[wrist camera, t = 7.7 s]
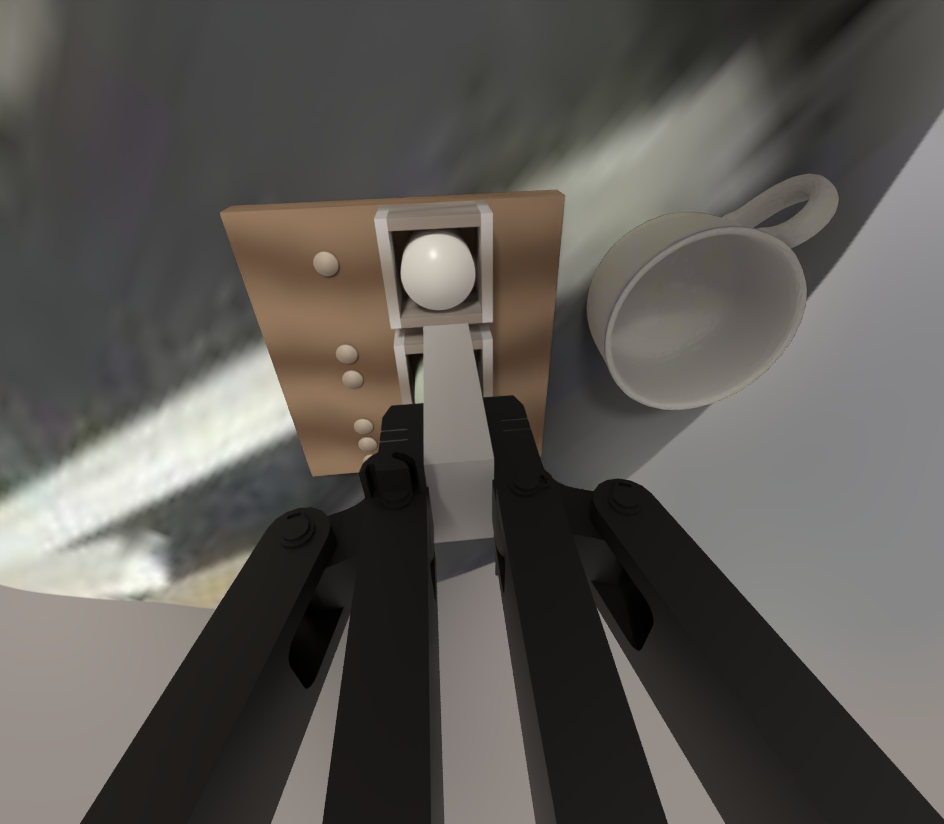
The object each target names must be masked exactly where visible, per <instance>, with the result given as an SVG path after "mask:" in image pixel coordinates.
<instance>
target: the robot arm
mask: <svg viewBox="0 0 944 824" xmlns="http://www.w3.org/2000/svg"><path fill="white" fill-rule="evenodd" d="M423 369H424V403H417V404H404V405H391V406H390V408H389V409H388V410H387V412H386V413H385V414H384V416H383V417H382V424H381V433H380V443H379V449H378V453H376V454H374V455H372V456H370V457H369V458H368V459H367V460H366V461H365V462H364V463H363V464H362V466H361V468H360V471H359V476H360V480H361V483H362V487H363V491H364V494H365V498H364V499H363V500H362V501H361V502H360V503H358V504H357V505H355V506H353V507H351V508H349V509H346V510H344V511H341V512H338V513H335V514H332V515H330V516H327V515H326V514H325V513H324V512H323V511H322V510H319V509H315V508H312V507H309V508H298V509H295V510H292V511H289V512H286V513H285V514H283V515H282V516H280V517H279V518H277V519H276V520H275V521H274V522H273V523H272V524H271V525H270V526H269V527H268V529H267V530H266V531H265V533H264V535H263V536H262V538H261V539H260V541H259V542H258V544H257V546H256V547H255V549H254V550H253V552H252V553H251V555H250V557H249V558H248V560H247V561H246V563H245V564H244V566H243V568H242V569H241V571H240V572H239V574H238V576H237V577H236V579H235V580H234V582H233V583H232V585H231V587H230V588H229V590H228V591H227V593H226V594H225V596H224V598H223V599H222V601H221V602H220V604H219V605H218V607H217V609H216V610H215V612H214V613H213V615H212V617H211V618H210V620H209V621H208V623H207V624H206V626H205V628H204V629H203V631H202V633H201V634H200V635H199V637H198V639H197V640H196V642H195V643H194V645H193V647H192V648H191V650H190V651H189V653H188V654H187V656H186V658H185V660H184V661H183V662H182V664H181V666H180V667H179V669H178V670H177V672H176V673H175V675H174V676H173V678H172V679H171V681H170V683H169V684H168V686H167V687H166V689H165V691H164V692H163V694H162V695H161V697H160V699H159V700H158V702H157V703H156V705H155V706H154V708H153V709H152V711H151V713H150V714H149V716H148V717H147V719H146V720H145V722H144V724H143V725H142V727H141V728H140V730H139V731H138V733H137V735H136V736H135V738H134V739H133V741H132V743H131V744H130V746H129V747H128V749H127V750H126V752H125V754H124V755H123V757H122V758H121V760H120V761H119V763H118V765H117V766H116V768H115V769H114V771H113V772H112V774H111V776H110V777H109V779H108V780H107V782H106V784H105V785H104V787H103V788H102V790H101V792H100V793H99V794H98V796H97V798H96V799H95V801H94V803H93V804H92V806H91V807H90V809H89V810H88V812H87V813H86V815H85V817H84V818H83V820H82V821H81V823H80V824H271V821H272V819H273V816H274V814H275V811H276V809H277V806H278V803H279V801H280V798H281V795H282V793H283V790H284V787H285V785H286V782H287V780H288V777H289V774H290V772H291V769H292V766H293V764H294V761H295V758H296V756H297V753H298V750H299V747H300V745H301V742H302V740H303V737H304V735H305V732H306V729H307V727H308V724H309V721H310V719H311V716H312V713H313V710H314V708H315V705H316V702H317V700H318V697H319V695H320V692H321V690H322V687H323V684H324V682H325V679H326V676H327V674H328V671H329V668H330V666H331V663H332V660H333V658H334V655H335V652H336V650H337V647H338V644H339V642H340V639H341V636H342V634H343V631H344V629H345V626H346V623H347V621H348V618H349V615H350V622H349V629H348V636H347V644H346V651H345V659H344V666H343V674H342V681H341V689H340V696H339V704H338V711H337V719H336V726H335V733H334V741H333V749H332V756H331V763H330V771H329V778H328V786H327V793H326V801H325V809H324V816H323V823H322V824H444V798H443V771H442V770H443V767H442V734H441V702H440V675H439V674H440V671H439V639H438V607H437V574H436V559H435V551H434V543H440V542H451V541H462V540H472V539H483V538H494V536H495V543H496V570H495V573H496V575H498V577H499V583H500V590H501V597H502V603H503V610H504V616H505V623H506V630H507V636H508V642H509V649H510V656H511V663H512V669H513V676H514V683H515V689H516V696H517V702H518V709H519V715H520V722H521V729H522V735H523V742H524V749H525V755H526V761H527V768H528V775H529V782H530V789H531V794H532V801H533V808H534V815H535V821H536V824H668V823H667V820H666V816H665V813H664V810H663V807H662V805H661V801H660V798H659V795H658V792H657V789H656V786H655V783H654V781H653V777H652V774H651V771H650V768H649V765H648V762H647V759H646V756H645V753H644V750H643V747H642V744H641V741H640V738H639V735H638V732H637V729H636V726H635V723H634V720H633V716H632V713H631V710H630V707H629V704H628V702H627V698H626V695H625V692H624V690H623V686H622V684H621V680H620V677H619V674H618V671H617V668H616V665H615V662H614V659H613V656H612V653H611V650H610V647H609V644H608V641H607V638H606V635H605V632H604V629H603V626H602V623H601V619H600V617H599V614H598V610H599V611H600V613H601V615H602V617H603V618H604V620H605V622H606V623H607V625H608V627H609V628H610V630H611V632H612V633H613V635H614V637H615V638H616V640H617V642H618V644H619V645H620V647H621V648H622V650H623V652H624V654H625V655H626V657H627V659H628V660H629V662H630V664H631V665H632V667H633V669H634V670H635V672H636V674H637V675H638V677H639V679H640V681H641V682H642V684H643V686H644V687H645V689H646V691H647V692H648V694H649V696H650V697H651V699H652V701H653V702H654V704H655V706H656V708H657V709H658V711H659V713H660V714H661V716H662V718H663V719H664V721H665V722H666V724H667V726H668V728H669V729H670V731H671V733H672V734H673V736H674V738H675V739H676V741H677V743H678V745H679V746H680V748H681V749H682V751H683V753H684V755H685V756H686V758H687V760H688V761H689V763H690V765H691V766H692V768H693V770H694V771H695V773H696V775H697V776H698V778H699V780H700V781H701V783H702V785H703V787H704V788H705V790H706V792H707V793H708V795H709V797H710V798H711V800H712V802H713V803H714V805H715V807H716V808H717V810H718V812H719V814H720V815H721V817H722V819H723V820H724V822H725V824H944V819H943V818H942V817H941V816H940V815H939V813H938V812H937V811H936V810H935V809H934V808H933V807H932V806H931V805H930V803H929V802H928V801H927V800H926V799H925V798H924V797H923V796H922V794H921V793H920V792H919V791H918V790H917V789H916V788H915V787H914V786H913V784H912V783H911V782H910V781H909V780H908V779H907V778H906V777H905V776H904V774H903V773H902V772H901V771H900V770H899V769H898V768H897V767H896V766H895V764H894V763H893V762H892V761H891V760H890V759H889V758H888V757H887V755H886V754H885V753H884V752H883V751H882V750H881V749H880V748H879V747H878V745H877V744H876V743H875V742H874V741H873V740H872V739H871V738H870V736H869V735H868V734H867V733H866V732H865V731H864V730H863V729H862V728H861V726H859V724H858V723H857V722H856V721H855V720H854V719H853V718H852V716H850V714H849V713H848V712H847V711H846V710H845V709H844V707H843V706H842V705H841V704H840V703H839V702H838V701H837V700H836V699H835V698H834V696H832V694H831V693H830V692H829V691H828V690H827V689H826V688H825V686H824V685H823V684H822V683H821V682H820V681H819V680H818V679H817V677H816V676H815V675H814V674H813V673H812V672H811V671H810V670H809V669H808V667H807V666H806V665H805V664H804V663H803V662H802V661H801V660H800V658H799V657H798V656H797V655H796V654H795V653H794V652H793V651H792V650H791V649H790V647H789V646H788V645H787V644H786V643H785V642H784V641H783V639H782V638H781V637H780V636H779V635H778V634H777V633H776V632H775V631H774V630H773V628H772V627H771V626H770V625H769V624H768V623H767V622H766V621H765V620H764V618H763V617H762V616H761V615H760V614H759V613H758V612H757V611H756V609H755V608H754V607H753V606H752V605H751V604H750V603H749V602H748V601H747V599H746V598H745V597H744V596H743V595H742V594H741V593H740V592H739V591H738V589H737V588H736V587H735V586H734V585H733V584H732V583H731V582H730V581H729V579H728V578H727V577H726V576H725V575H724V574H723V573H722V571H721V570H720V569H719V568H718V567H717V566H716V565H715V564H714V563H713V562H712V560H710V558H709V557H708V556H707V555H706V554H705V553H704V551H703V550H702V549H701V548H700V547H699V546H698V545H697V544H696V542H695V541H694V540H693V539H692V538H691V537H690V536H689V535H688V534H687V532H686V531H685V530H684V529H683V528H682V527H681V526H680V525H679V524H678V523H677V521H676V520H675V519H674V518H673V517H672V516H671V515H670V514H669V513H668V512H667V510H666V509H665V508H664V507H663V506H662V505H661V503H660V502H659V501H658V500H657V499H656V498H655V497H654V496H653V495H652V493H650V492H649V491H648V490H647V489H646V488H644V487H643V486H642V485H639V484H637V483H635V482H632V481H630V480H624V479H611V480H606V481H604V482H602V483H600V484H599V485H598V486H597V487H596V489H595V490H594V491H589V490H583V489H577V488H572V487H568V486H565V485H563V484H561V483H559V482H557V481H555V480H554V479H553V478H552V476H551V475H550V474H549V473H548V472H546V471H545V469H544V467H543V465H542V462H541V458H540V455H539V452H538V449H537V446H536V443H535V439H534V436H533V433H532V430H531V427H530V424H529V420H528V418H527V414H526V411H525V408H524V405H523V404H522V403H521V402H520V401H519V400H518V399H517V398H516V397H515V396H514V395H507V396H494V397H482V393H481V388H480V382H479V377H478V372H477V367H476V362H475V356H474V351H473V346H472V341H471V335H470V330H469V325H468V323H466V324H451V325H435V326H423ZM597 608H598V610H597ZM350 613H351V614H350Z"/></svg>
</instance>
